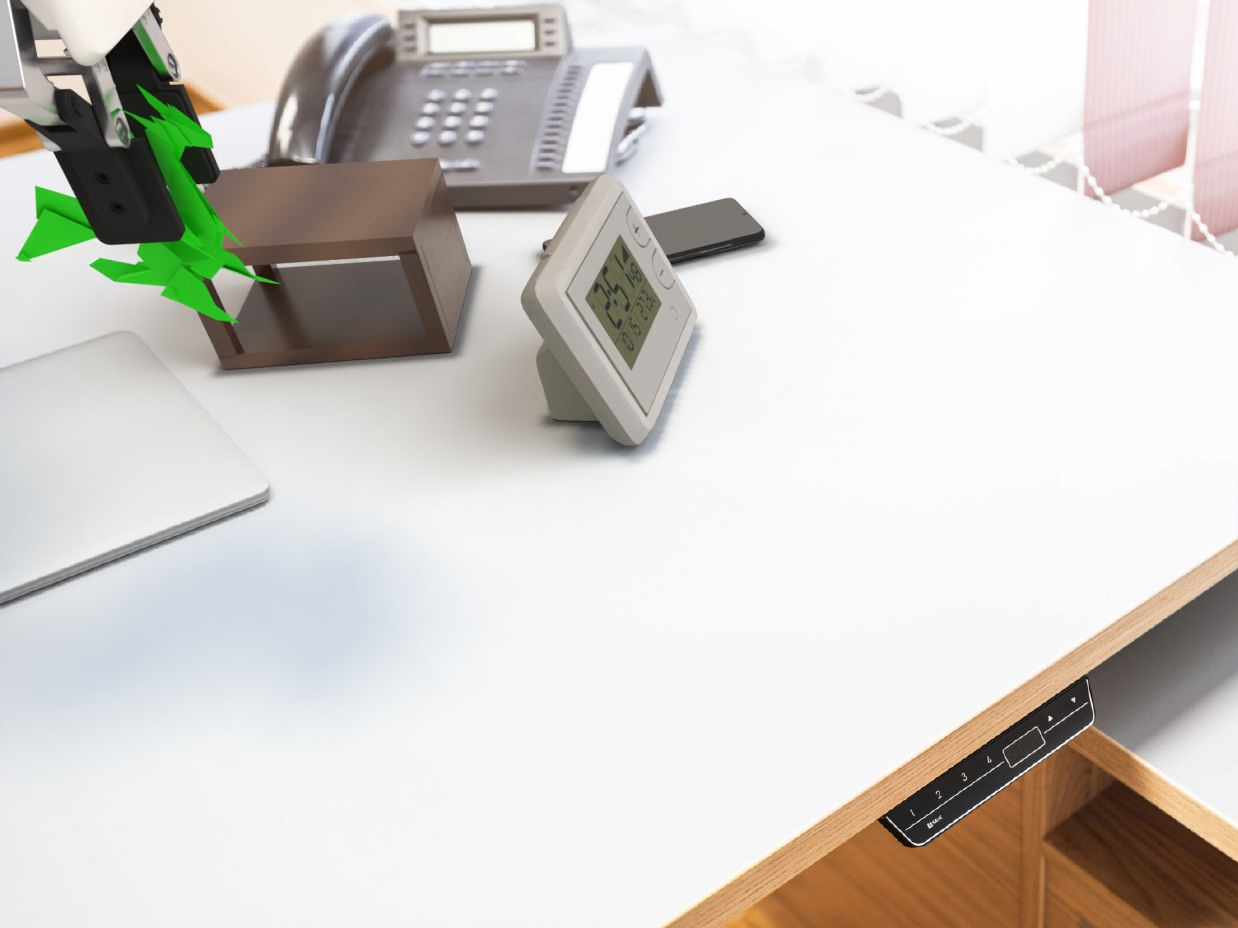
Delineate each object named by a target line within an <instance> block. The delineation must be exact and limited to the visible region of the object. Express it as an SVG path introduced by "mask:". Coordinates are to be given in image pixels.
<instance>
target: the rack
mask: <svg viewBox="0 0 1238 928" xmlns="http://www.w3.org/2000/svg"><path fill="white" fill-rule="evenodd" d="M202 194H203V195H204V196H205V198H206V199H207V201H208V202H209V204H210V205H211V207H212V208H213V209H214V211H215V212H216V214H217V215H218V217H219V218H220V219H221V221H222V223H223V226H224V227H225V228H226V229H227V230H228V231H229V232H230V233H231V234H232V235H233V236H234V237H235V238H236V239H237V240H238V241H239V242H240V243H241V245H242V246H243V247H242V246H241V245H240V244H238V243H237V242H236V241H234V240H233V239H232V238H230V237H229V236H228V235H226V234H225V233H224V237H223V242H222V247H221V248H223V249H225V250H226V251H228V252H230V253H232V254H234V255H235V256H237V257H238V258H239V260H240V261H241V262H242V263H243V265H244V266H245V267H250V266H251V267H252V269H253V272H254V275H256V276H259V277H262V278H265V279H267V280H270V281H273V282H276V283H279V284H276V283H269V282H262V281H258V280H255V279H254V281H253V283H252V285H251V286H250V290H249V291H248V293H247V295H246V297H245V299H244V302H243V304H242V306H241V307H240V309H239V312H238V315H237V316H236V318H235V320H236V321H237V322H239V323H235V322H233V324H232V322H228V321H222V320H216V319H214V318H212V317H210V316H207V315H205V314H203V313H201V312H199V311H197V310H195V311H196V313H197V316H198V317H199V319H200V321H201V324H202V326H203V328H204V330H205V332H206V334H207V337H208V339H209V341H210V343H211V345H212V347H213V349H214V351H215V353H216V355H217V357H218V360H219V361H220V364H221V366H222V368H223V370H239V369H250V368H262V367H263V368H264V367H274V366H275V367H278V366H289V365H301V364H303V365H304V364H313V363H314V364H315V363H326V362H328V363H329V362H339V361H341V362H342V361H351V360H353V361H354V360H363V359H364V360H366V359H378V358H390V357H391V358H392V357H405V356H415V355H428V354H441V353H452V350H453V346H454V343H455V339H456V334H457V330H458V327H459V323H460V318H461V314H462V310H463V306H464V302H465V297H466V294H467V290H468V286H469V282H470V277H471V274H472V269H473V265H472V263H471V259H470V256H469V253H468V250H467V247H466V246H467V245H466V243H465V240H464V237H463V234H462V230H461V227H460V224H459V221H458V218H457V217H458V216H457V214H456V211H455V207H454V204H453V202H452V198H451V195H450V191H449V188H448V185H447V181H446V179H445V175H444V172H443V169H442V166H441V163H440V159H439V157H424V158H408V159H407V158H406V159H391V160H388V159H387V160H373V161H354V162H353V161H352V162H337V163H320V164H319V163H318V164H303V165H302V164H301V165H285V166H269V167H250V168H233V169H220V176H219V177H218V179H217V181H216V182H215V183H212V184H208V185H207V187H206V189H205V191H204V193H202ZM383 257H384V258H385V257H386V258H387V257H398V258H399V259H389V260H388V259H387V260H373V261H359V262H346V263H345V262H344V263H330V264H314V265H299V266H298V265H297V266H285V267H278V265H280V264H282V265H283V264H296V263H298V264H299V263H311V262H324V261H340V260H342V261H343V260H356V259H369V258H370V259H371V258H372V259H373V258H383ZM186 265H187V266H189V267H190V268H191V267H192V266H190V265H189V264H186ZM199 276H200V275H199ZM200 277H202V278H203V279H204V280H203V281H202V283H204V284H205V286H206V288H207V290H208V292H209V294H210V296H211V298H212V300H213V302H214V304H215V306H217V307H218V308H220V309H221V310H222V311H224V312H225V313H226V314H228V313H227V310H226V308H225V306H224V305H223V302H222V300H221V298H220V295H219V293H218V291H217V289H216V287H215V284H214V282H213V280H212V279H211V280H210V279H208V278H205V277H203V276H200Z"/></svg>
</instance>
